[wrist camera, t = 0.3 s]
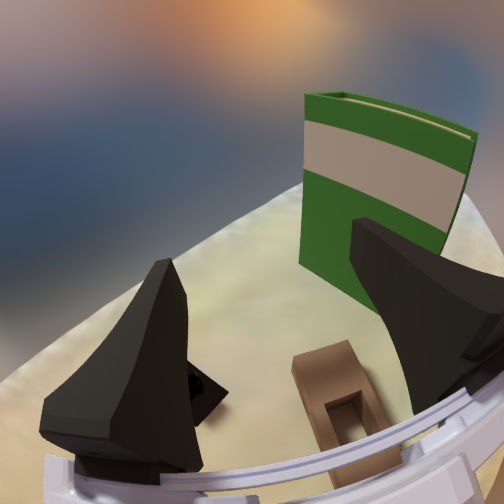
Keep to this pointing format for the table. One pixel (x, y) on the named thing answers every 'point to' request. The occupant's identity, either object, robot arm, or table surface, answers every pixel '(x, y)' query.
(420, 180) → the hardback book
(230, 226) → the table surface
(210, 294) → the table surface
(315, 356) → the slotted beam
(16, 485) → the table surface
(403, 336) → the robot arm
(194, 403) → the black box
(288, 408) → the table surface
